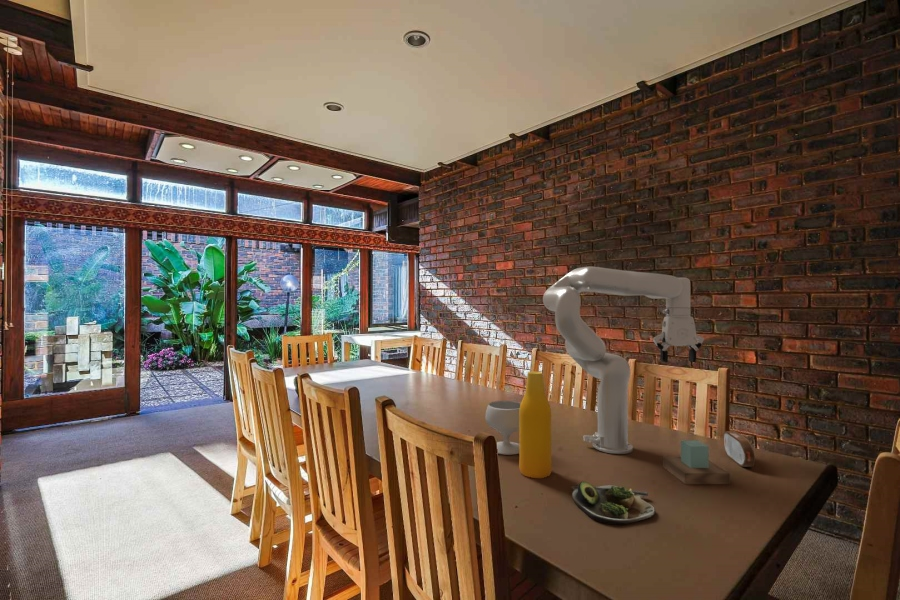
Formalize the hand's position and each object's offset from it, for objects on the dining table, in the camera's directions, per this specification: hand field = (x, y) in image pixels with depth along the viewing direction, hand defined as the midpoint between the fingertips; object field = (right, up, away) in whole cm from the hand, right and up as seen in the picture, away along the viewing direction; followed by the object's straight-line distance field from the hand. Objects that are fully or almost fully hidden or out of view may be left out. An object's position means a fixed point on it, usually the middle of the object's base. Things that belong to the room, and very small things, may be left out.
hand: (678, 361), depth 147 cm
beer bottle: (-55, -29, -25) cm, 67 cm away
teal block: (-10, -25, -27) cm, 38 cm away
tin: (+9, -29, -17) cm, 34 cm away
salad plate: (-41, -29, -45) cm, 67 cm away
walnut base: (-10, -28, -27) cm, 40 cm away
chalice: (-61, -29, -6) cm, 68 cm away
